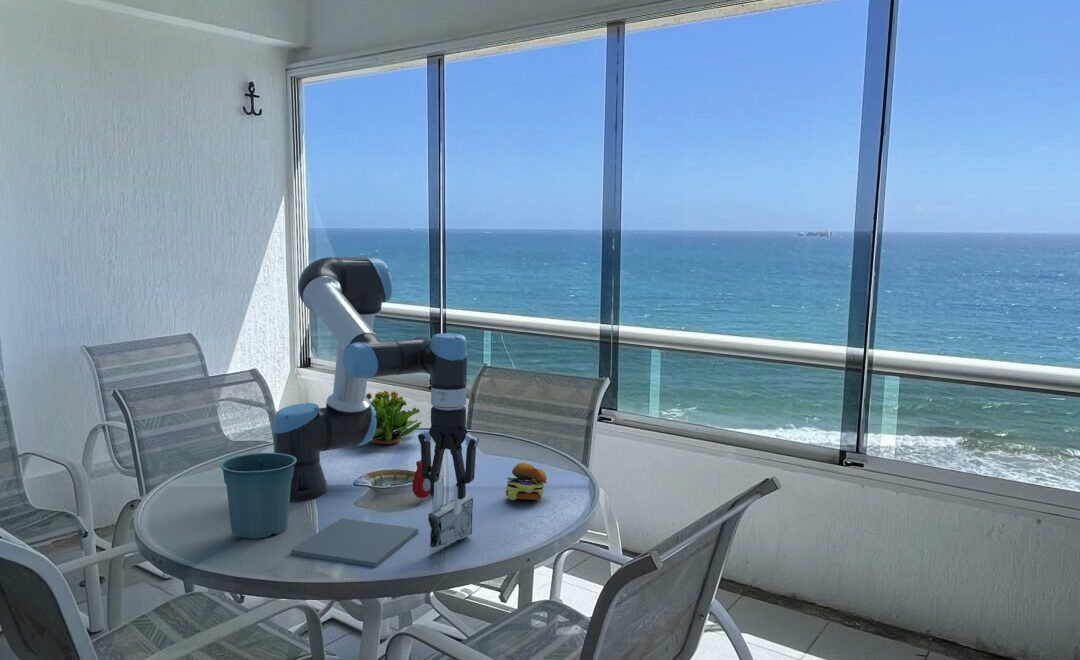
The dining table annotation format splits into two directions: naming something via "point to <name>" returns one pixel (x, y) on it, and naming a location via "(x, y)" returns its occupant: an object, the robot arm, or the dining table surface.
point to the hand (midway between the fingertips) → (447, 511)
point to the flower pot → (258, 493)
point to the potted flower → (391, 418)
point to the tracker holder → (421, 483)
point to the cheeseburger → (526, 482)
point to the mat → (356, 542)
